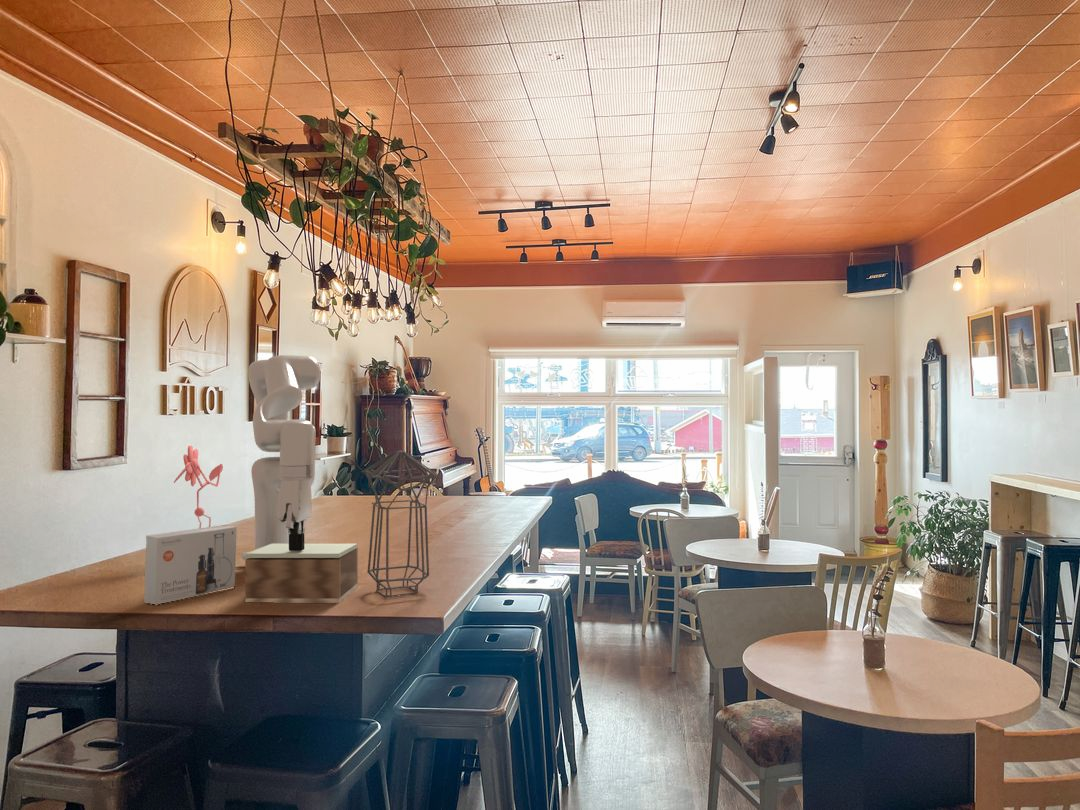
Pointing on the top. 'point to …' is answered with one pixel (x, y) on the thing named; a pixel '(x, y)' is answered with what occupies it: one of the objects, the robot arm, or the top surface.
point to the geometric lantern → (386, 462)
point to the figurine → (195, 471)
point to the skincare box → (189, 563)
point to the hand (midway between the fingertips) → (296, 550)
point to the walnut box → (301, 579)
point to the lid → (308, 551)
